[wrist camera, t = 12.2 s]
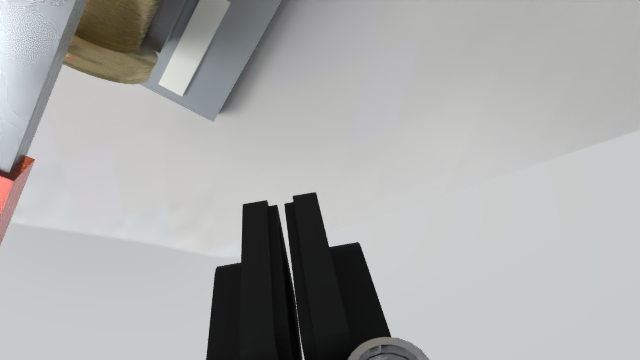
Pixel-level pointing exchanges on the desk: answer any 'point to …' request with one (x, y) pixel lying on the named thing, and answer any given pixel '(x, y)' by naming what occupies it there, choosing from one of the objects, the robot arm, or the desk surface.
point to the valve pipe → (123, 38)
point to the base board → (209, 52)
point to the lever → (28, 82)
